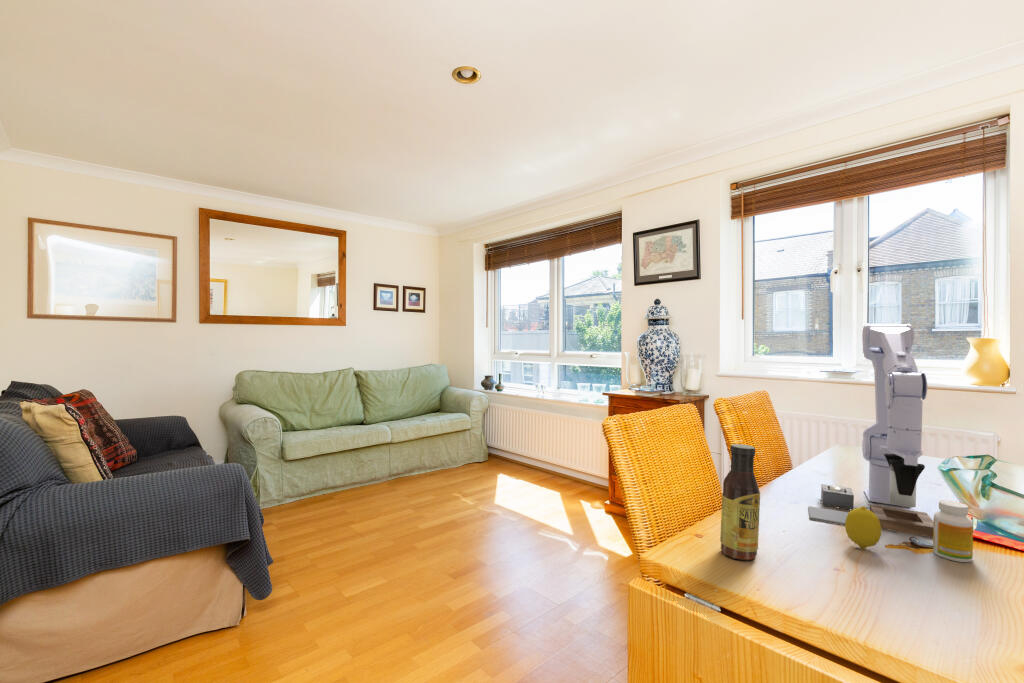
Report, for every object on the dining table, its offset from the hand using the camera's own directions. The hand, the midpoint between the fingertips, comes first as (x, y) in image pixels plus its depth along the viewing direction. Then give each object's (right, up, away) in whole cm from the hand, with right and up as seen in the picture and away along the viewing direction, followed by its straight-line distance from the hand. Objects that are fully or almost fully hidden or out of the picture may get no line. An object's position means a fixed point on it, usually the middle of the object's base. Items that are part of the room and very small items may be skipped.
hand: (902, 491), depth 103 cm
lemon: (-17, -7, -12) cm, 22 cm away
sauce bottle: (-42, -7, -15) cm, 45 cm away
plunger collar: (-6, -7, +12) cm, 15 cm away
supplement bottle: (-3, -8, -15) cm, 17 cm away
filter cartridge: (0, -3, 0) cm, 3 cm away
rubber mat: (-13, -7, +4) cm, 15 cm away
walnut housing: (0, -7, 0) cm, 7 cm away
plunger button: (-6, -6, +12) cm, 15 cm away
